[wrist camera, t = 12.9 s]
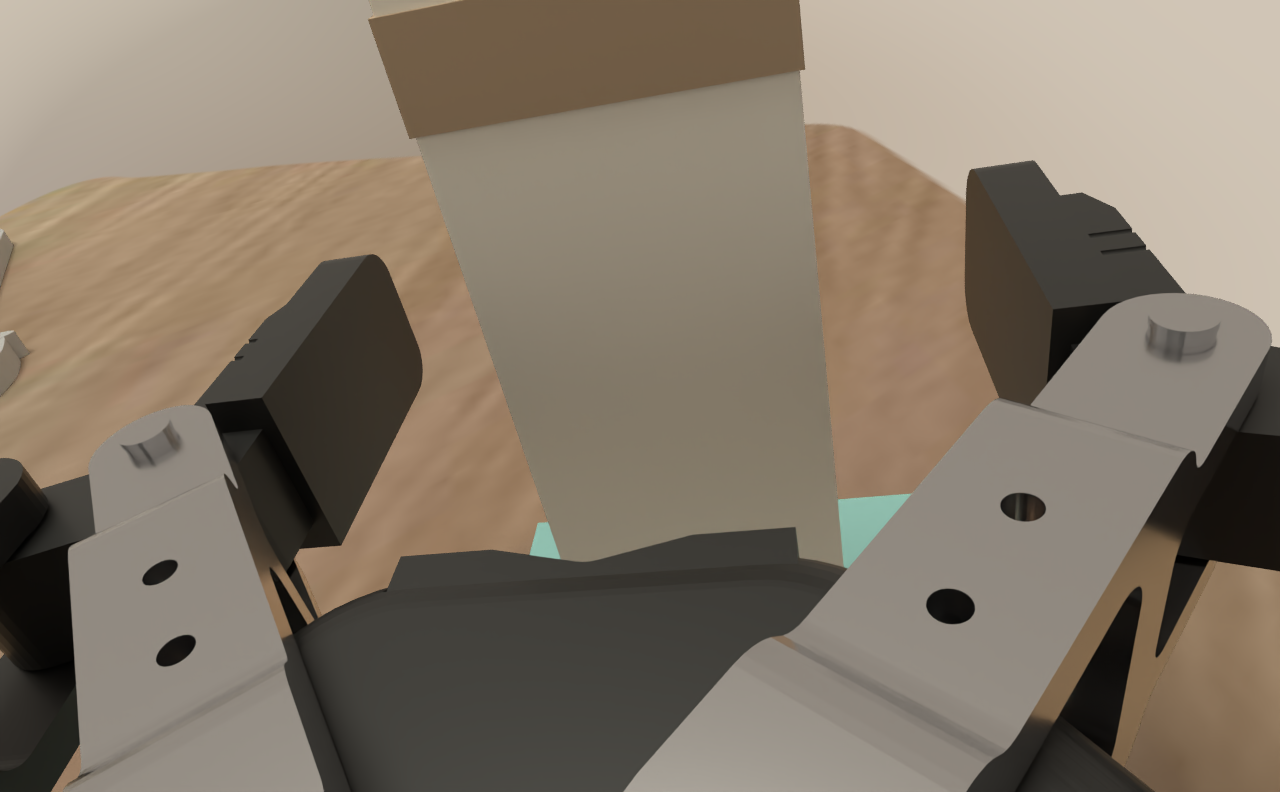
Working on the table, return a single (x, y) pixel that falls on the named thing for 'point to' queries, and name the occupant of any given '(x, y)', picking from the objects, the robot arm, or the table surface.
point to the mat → (855, 517)
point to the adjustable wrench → (6, 347)
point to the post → (634, 253)
